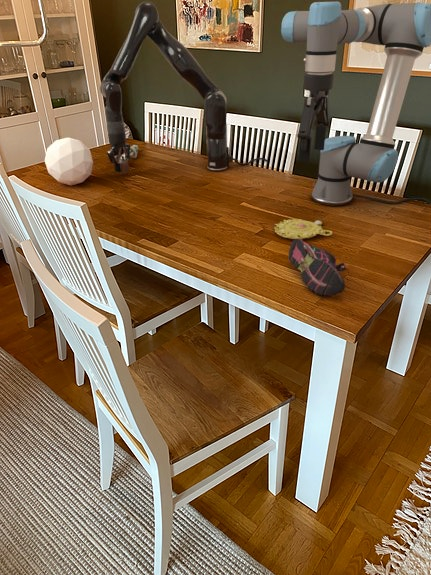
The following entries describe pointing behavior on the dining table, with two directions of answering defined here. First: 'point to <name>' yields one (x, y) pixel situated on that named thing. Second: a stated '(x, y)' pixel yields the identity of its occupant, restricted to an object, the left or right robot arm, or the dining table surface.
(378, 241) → the dining table surface
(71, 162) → the sphere
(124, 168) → the block
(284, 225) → the decorative object
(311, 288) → the athletic shoe
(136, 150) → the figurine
